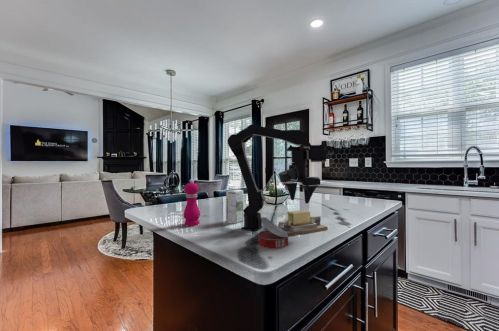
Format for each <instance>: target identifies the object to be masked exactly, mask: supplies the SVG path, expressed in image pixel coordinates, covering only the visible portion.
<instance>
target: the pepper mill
mask: <svg viewBox="0 0 499 331" xmlns="http://www.w3.org/2000/svg"><path fill="white" fill-rule="evenodd" d="M184 192H185V193H186V194H185V198H186V206H185V208H184V211H183V215H182V216H183V218H184V219H185V220H184V226H185V225H188V226H187V227H195V226H194V225H197V226H199V225H200V219H199V218H201V210H200V208H199V206H198V201H197V198H198V192H199V185H198V184H197V183H195V182H194V179H193V178H191V179H189V182H188V183H187V184H185V186H184ZM198 224H199V225H198Z"/></svg>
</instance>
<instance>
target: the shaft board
mask: <svg viewBox="0 0 499 331" xmlns="http://www.w3.org/2000/svg"><path fill="white" fill-rule="evenodd" d="M321 218H322V217H321V216H320V215H310V224H309V225H303V226H296V227H293V226H291V225H289V221H288V220H286V219H282V220H280V221H278V223H277V226H278V227H279V228H281V229H282V230H284V231H285V232H286V233H287V234H288V237H292V236H293V237H294V236H298V235H305V234H310V233H315V232H321V231H322V232H323V231H327V230H328V228H329V227H328V226H326V225H323V224H321Z"/></svg>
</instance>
